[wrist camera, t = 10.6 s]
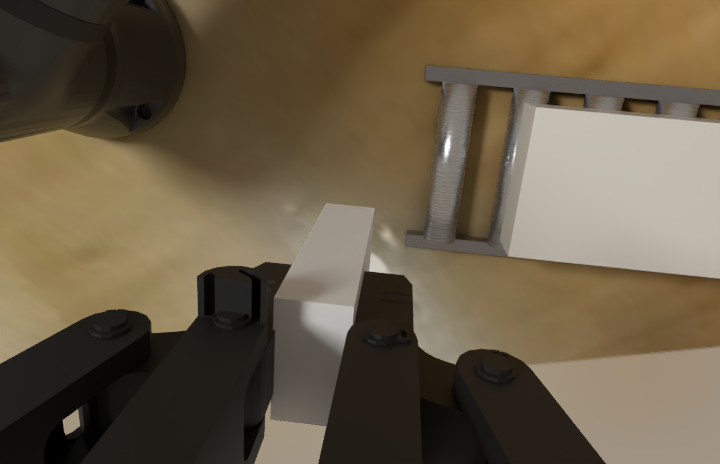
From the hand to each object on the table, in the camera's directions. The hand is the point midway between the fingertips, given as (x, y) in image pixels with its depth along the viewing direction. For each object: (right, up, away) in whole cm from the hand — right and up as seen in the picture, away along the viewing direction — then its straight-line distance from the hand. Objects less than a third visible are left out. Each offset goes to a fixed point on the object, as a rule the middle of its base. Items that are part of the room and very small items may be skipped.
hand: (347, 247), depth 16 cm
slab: (+22, +5, +28) cm, 36 cm away
